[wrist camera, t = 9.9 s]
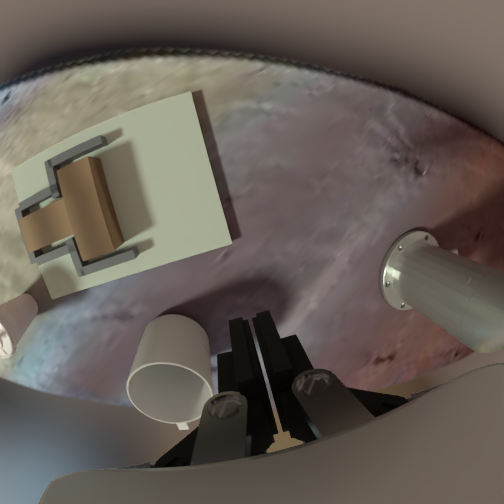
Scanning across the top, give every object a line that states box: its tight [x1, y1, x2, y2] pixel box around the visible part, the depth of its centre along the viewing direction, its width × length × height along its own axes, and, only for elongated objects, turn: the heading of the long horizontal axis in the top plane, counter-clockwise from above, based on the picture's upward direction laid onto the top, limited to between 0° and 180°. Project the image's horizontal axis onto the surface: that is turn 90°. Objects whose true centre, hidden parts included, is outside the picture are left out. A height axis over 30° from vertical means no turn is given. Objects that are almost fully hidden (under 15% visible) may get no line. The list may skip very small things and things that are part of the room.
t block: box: [19, 156, 125, 261], centre depth 26 cm, size 11×10×4 cm
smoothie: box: [0, 293, 38, 359], centre depth 24 cm, size 6×6×14 cm
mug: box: [127, 314, 214, 430], centre depth 30 cm, size 12×9×11 cm
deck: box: [12, 91, 232, 300], centre depth 28 cm, size 25×18×3 cm
